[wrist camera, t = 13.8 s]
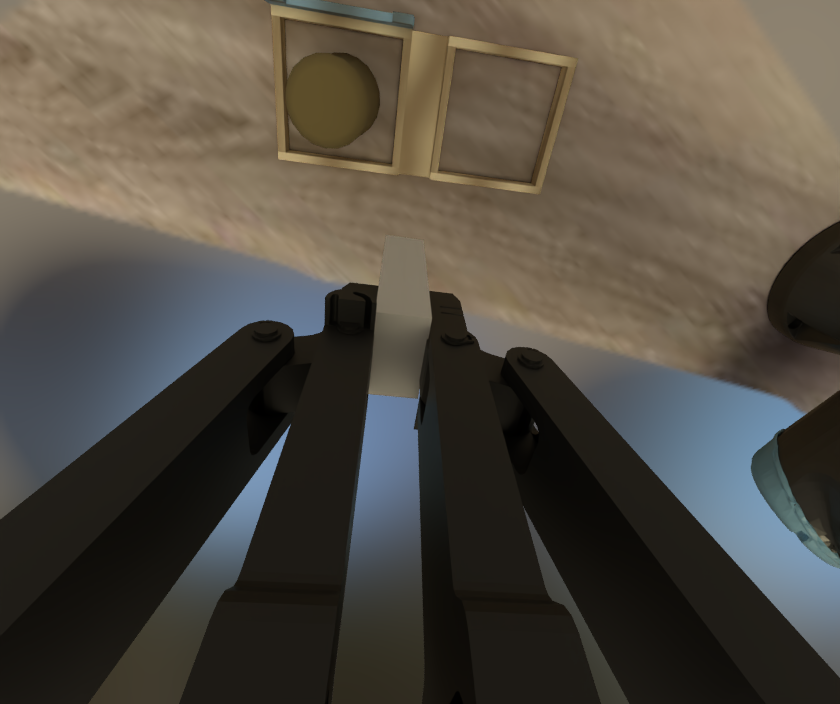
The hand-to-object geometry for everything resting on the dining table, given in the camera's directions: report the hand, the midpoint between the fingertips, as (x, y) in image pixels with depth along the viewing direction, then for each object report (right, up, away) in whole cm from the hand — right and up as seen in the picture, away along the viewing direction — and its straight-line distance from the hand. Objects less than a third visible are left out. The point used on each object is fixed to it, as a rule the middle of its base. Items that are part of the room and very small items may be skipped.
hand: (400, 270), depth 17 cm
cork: (-6, +18, +17) cm, 25 cm away
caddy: (+1, +17, +18) cm, 25 cm away
